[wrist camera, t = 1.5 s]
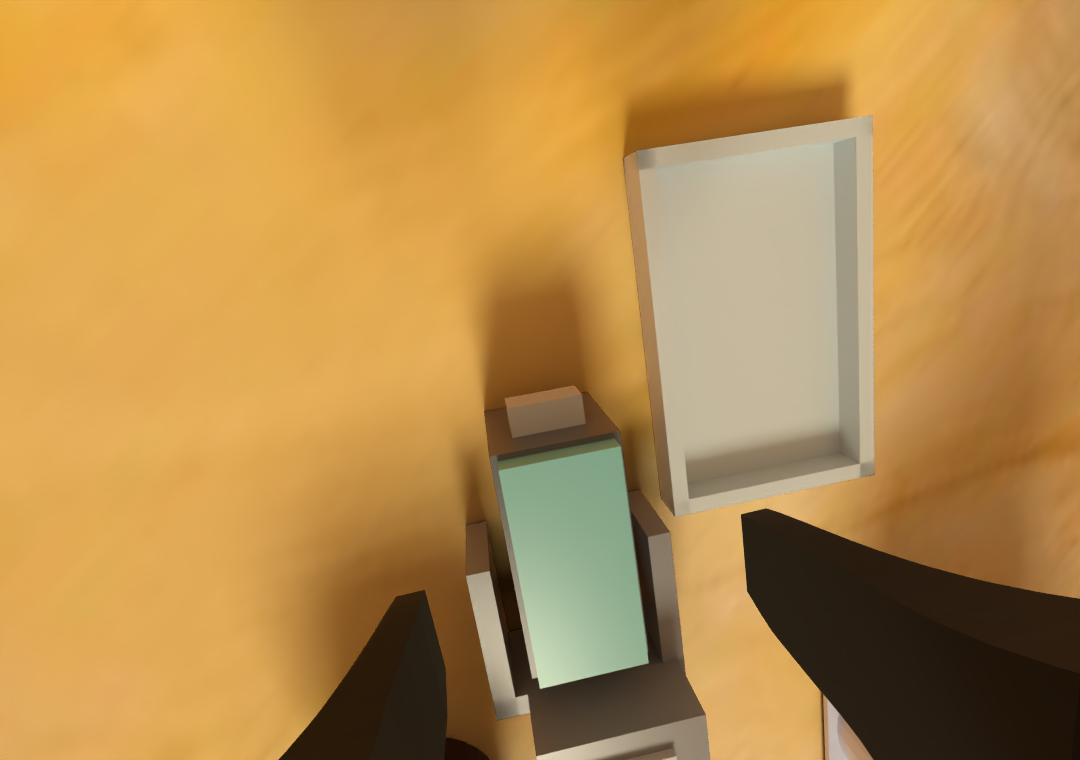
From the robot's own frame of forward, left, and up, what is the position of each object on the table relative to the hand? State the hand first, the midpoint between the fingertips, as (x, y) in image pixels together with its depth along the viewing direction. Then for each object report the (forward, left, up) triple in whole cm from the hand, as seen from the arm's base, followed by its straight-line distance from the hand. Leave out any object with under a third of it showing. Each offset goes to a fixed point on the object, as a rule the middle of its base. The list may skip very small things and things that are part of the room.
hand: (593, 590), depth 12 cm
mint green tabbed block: (0, +2, -10) cm, 10 cm away
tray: (-9, -3, -10) cm, 13 cm away
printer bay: (0, +7, -10) cm, 12 cm away
